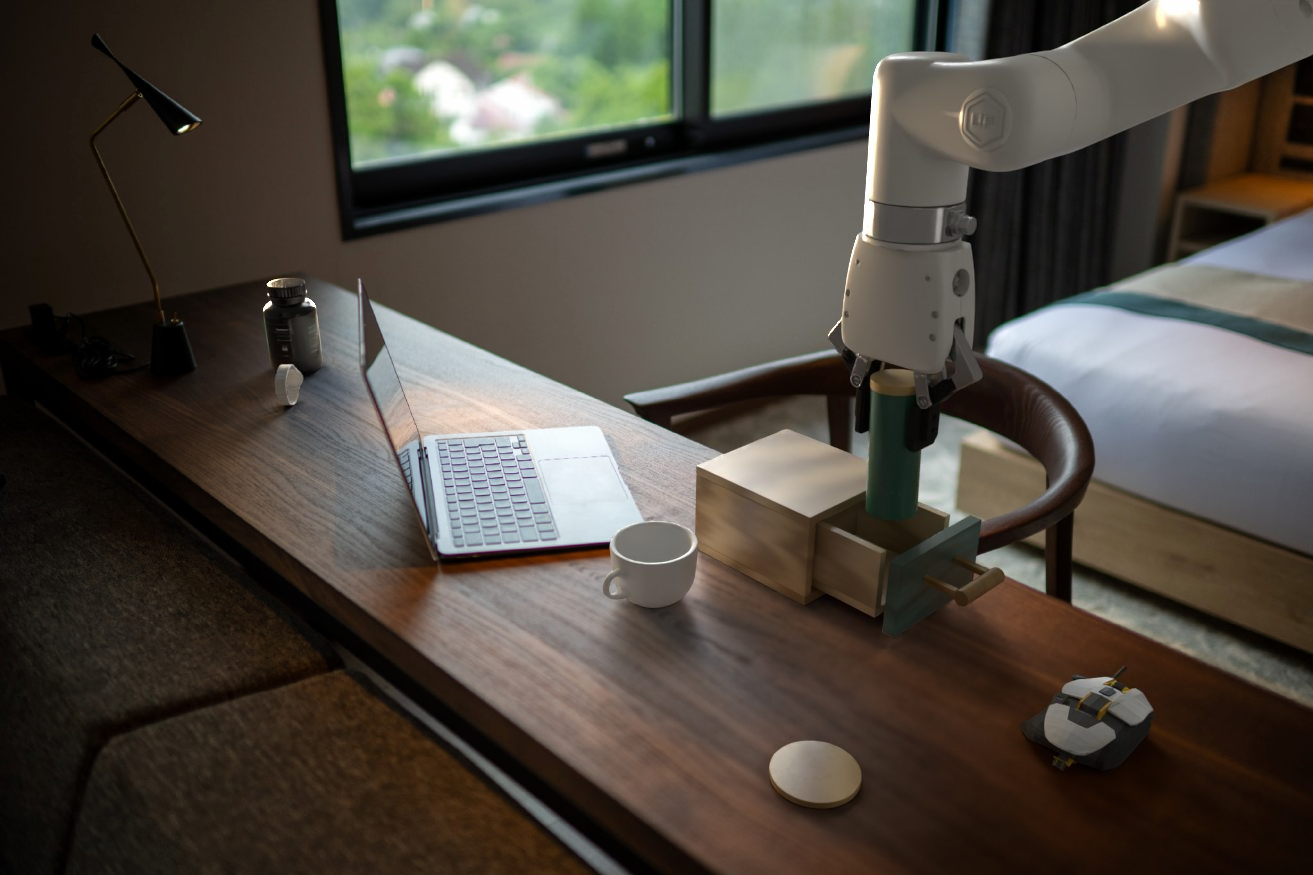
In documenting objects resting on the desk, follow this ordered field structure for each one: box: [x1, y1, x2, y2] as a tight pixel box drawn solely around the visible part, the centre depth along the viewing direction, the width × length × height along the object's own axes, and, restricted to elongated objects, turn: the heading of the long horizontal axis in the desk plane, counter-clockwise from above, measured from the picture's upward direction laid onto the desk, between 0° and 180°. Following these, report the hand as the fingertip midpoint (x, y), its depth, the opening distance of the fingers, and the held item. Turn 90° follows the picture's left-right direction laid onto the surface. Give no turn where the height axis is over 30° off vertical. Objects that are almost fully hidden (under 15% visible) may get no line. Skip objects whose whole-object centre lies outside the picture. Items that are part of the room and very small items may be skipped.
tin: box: [865, 368, 922, 521], centre depth 92 cm, size 4×4×12 cm
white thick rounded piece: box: [274, 364, 304, 406], centre depth 137 cm, size 3×5×5 cm, turn 1°
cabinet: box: [694, 428, 867, 606], centre depth 103 cm, size 14×13×9 cm
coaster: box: [768, 740, 863, 810], centre depth 77 cm, size 6×6×1 cm
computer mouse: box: [1019, 665, 1157, 772], centre depth 81 cm, size 7×15×4 cm, turn 135°
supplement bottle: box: [262, 277, 324, 376], centre depth 147 cm, size 7×7×12 cm
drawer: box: [812, 499, 1006, 639], centre depth 95 cm, size 17×12×7 cm
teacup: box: [602, 520, 699, 609], centre depth 96 cm, size 10×8×5 cm
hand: (894, 435), depth 92 cm, fingers closed on tin, 4 cm apart
